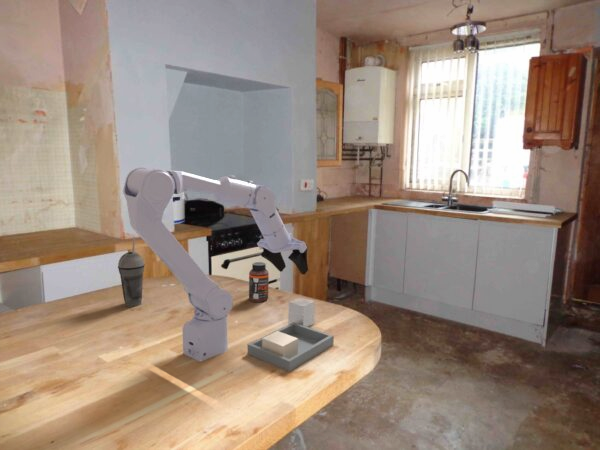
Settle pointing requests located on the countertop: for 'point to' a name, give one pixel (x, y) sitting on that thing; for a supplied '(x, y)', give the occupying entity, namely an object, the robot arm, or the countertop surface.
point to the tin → (302, 312)
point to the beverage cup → (131, 277)
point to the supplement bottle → (258, 282)
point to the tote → (308, 346)
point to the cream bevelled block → (281, 344)
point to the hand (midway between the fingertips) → (293, 270)
